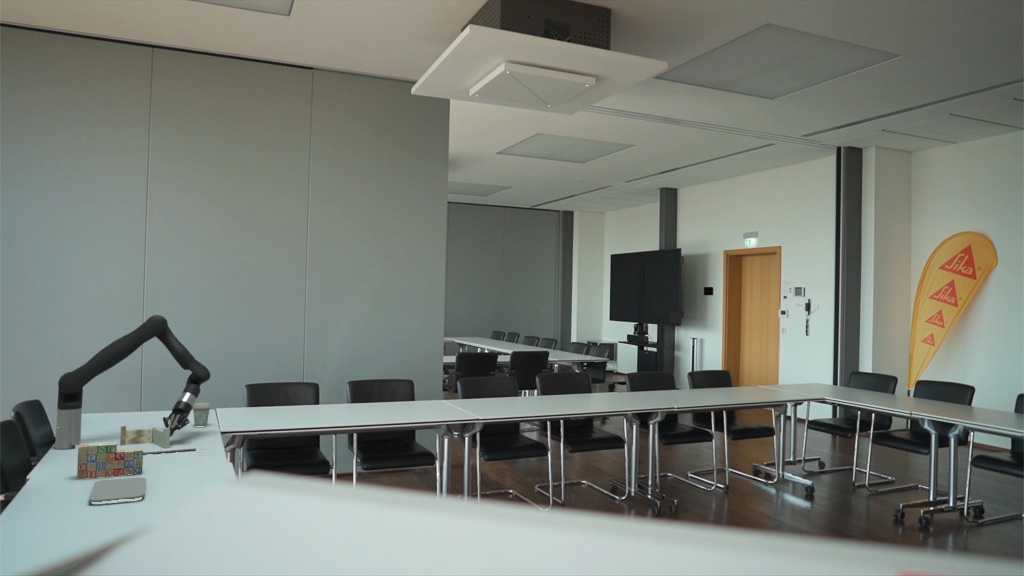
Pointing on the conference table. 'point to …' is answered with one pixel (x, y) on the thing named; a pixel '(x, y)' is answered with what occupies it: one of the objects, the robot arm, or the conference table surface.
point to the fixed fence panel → (134, 436)
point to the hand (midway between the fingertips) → (167, 436)
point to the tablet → (118, 489)
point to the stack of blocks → (107, 460)
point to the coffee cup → (201, 413)
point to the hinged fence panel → (161, 437)
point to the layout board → (170, 451)
